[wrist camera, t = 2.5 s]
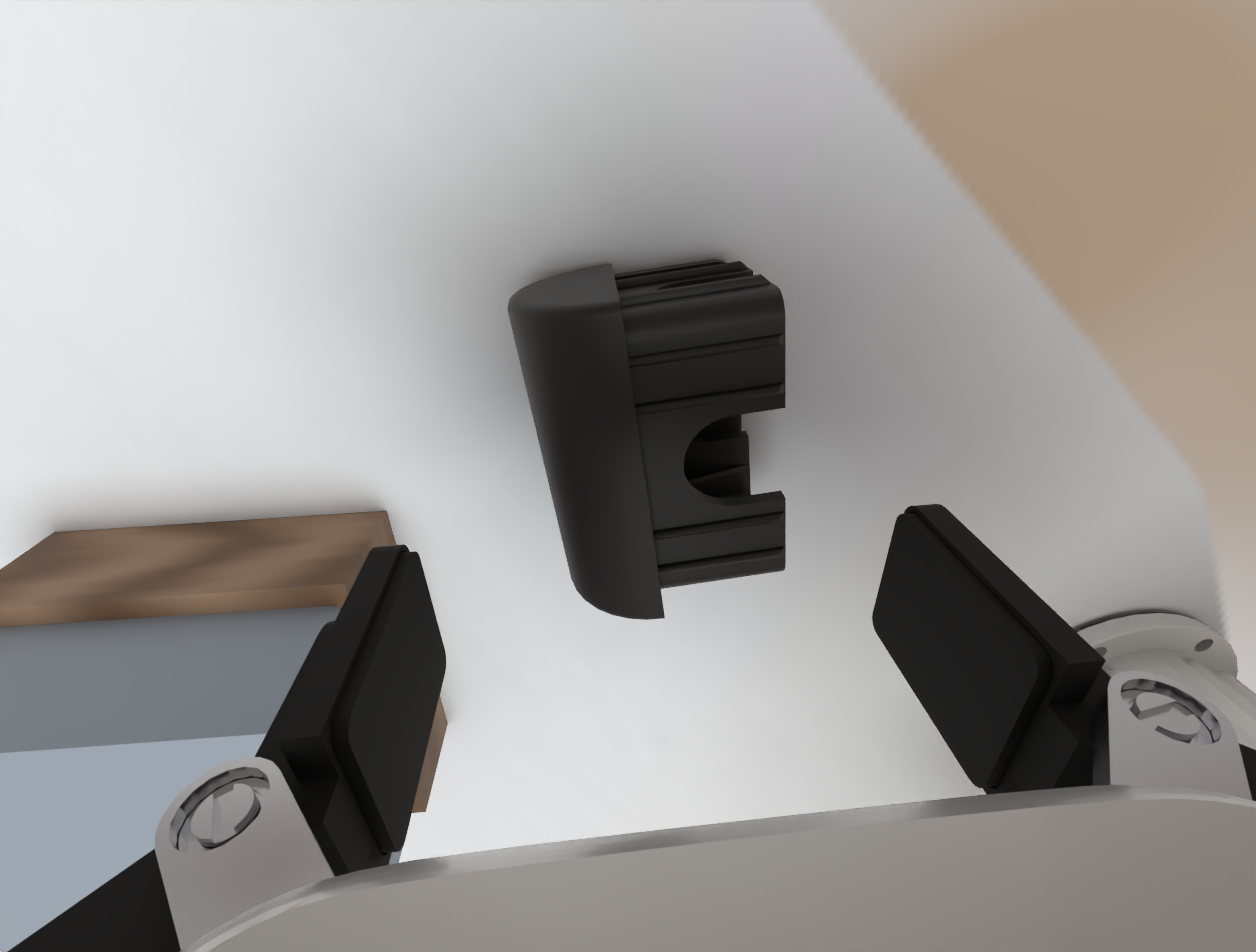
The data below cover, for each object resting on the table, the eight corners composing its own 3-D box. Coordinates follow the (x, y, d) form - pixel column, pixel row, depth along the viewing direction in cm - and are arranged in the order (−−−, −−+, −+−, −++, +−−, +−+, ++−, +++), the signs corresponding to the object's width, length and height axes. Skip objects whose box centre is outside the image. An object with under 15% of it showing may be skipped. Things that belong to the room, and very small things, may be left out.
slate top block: (338, 605, 19) (267, 734, 15) (411, 811, 25) (375, 947, 21) (-30, 628, 19) (-215, 768, 14) (132, 834, 25) (34, 978, 20)
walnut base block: (389, 505, 23) (344, 583, 19) (449, 716, 30) (425, 811, 25) (62, 526, 23) (-62, 612, 18) (194, 736, 29) (125, 837, 25)
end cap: (519, 273, 19) (489, 323, 13) (729, 240, 19) (794, 275, 13) (573, 519, 24) (569, 636, 18) (740, 494, 24) (791, 603, 18)
